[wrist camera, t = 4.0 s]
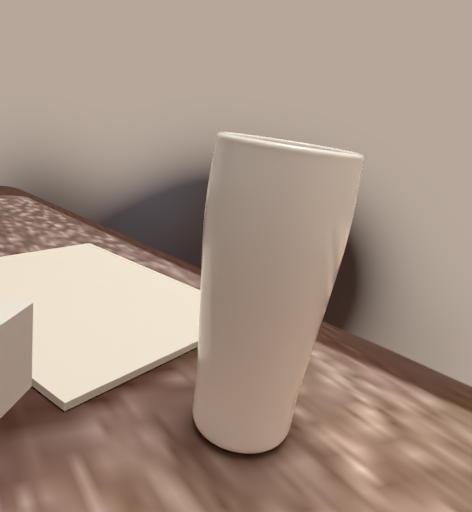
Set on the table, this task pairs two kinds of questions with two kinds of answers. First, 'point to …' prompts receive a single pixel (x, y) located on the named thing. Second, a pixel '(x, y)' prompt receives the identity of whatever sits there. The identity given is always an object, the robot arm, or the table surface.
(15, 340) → the robot arm
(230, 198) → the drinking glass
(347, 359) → the table surface
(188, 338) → the felt placemat
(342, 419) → the table surface
